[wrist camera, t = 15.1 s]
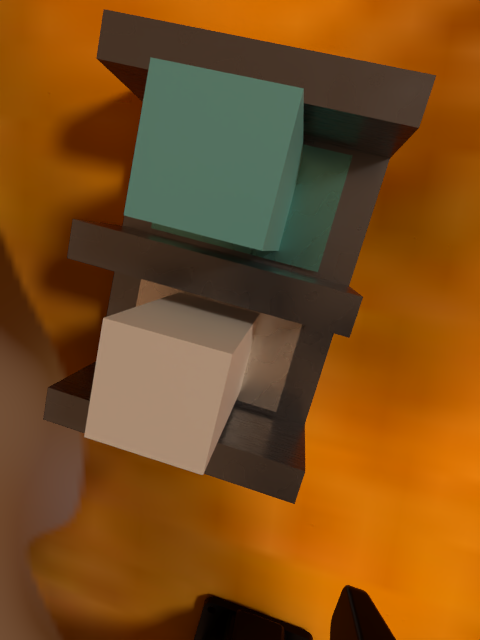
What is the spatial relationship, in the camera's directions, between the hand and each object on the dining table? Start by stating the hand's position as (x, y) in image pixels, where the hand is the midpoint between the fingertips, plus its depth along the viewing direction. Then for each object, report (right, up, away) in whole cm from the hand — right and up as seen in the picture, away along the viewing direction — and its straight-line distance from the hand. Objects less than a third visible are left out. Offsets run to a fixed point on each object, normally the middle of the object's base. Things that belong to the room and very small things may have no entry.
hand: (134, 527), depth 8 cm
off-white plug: (+1, +3, +10) cm, 11 cm away
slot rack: (+2, +7, +10) cm, 13 cm away
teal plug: (+3, +10, +9) cm, 13 cm away
